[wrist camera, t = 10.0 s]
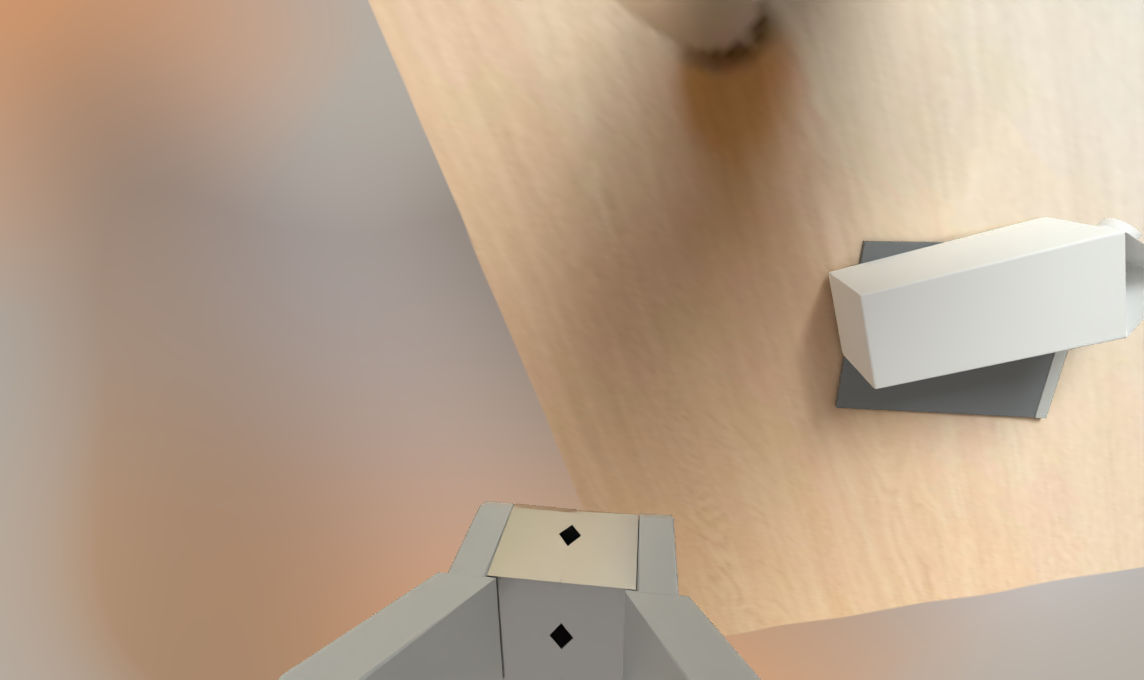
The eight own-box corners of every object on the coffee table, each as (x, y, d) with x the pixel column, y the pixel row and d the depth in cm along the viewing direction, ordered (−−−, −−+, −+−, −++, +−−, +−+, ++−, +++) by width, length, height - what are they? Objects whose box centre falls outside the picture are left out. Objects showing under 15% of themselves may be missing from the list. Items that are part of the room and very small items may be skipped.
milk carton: (839, 354, 44) (1111, 293, 40) (872, 390, 37) (1203, 323, 33) (825, 272, 42) (1109, 198, 38) (857, 295, 35) (1206, 210, 31)
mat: (863, 241, 41) (865, 242, 41) (1095, 243, 39) (1101, 244, 39) (835, 405, 46) (837, 408, 46) (1041, 415, 44) (1046, 418, 43)
